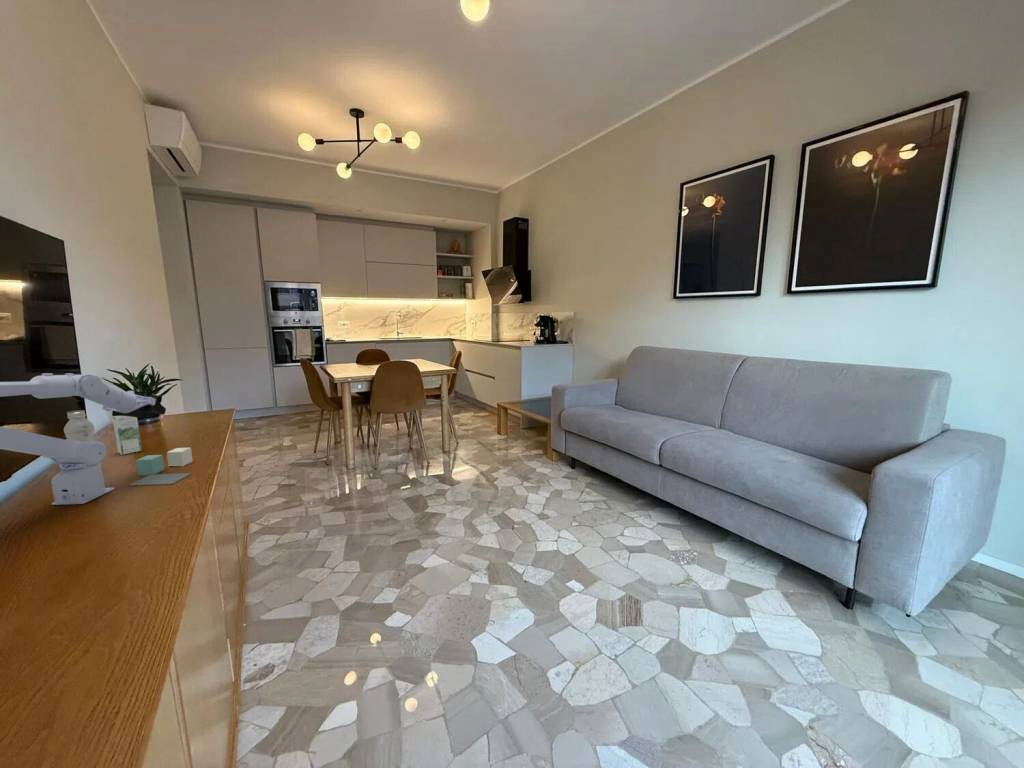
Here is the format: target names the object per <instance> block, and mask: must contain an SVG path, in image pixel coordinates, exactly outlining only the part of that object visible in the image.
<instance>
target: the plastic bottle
mask: <svg viewBox="0 0 1024 768" xmlns="http://www.w3.org/2000/svg"><path fill="white" fill-rule="evenodd" d="M66 414H67V419H68V421H67V423H66V424H65V426H64V427H63V432H64V436H65V438H66V440H74V441H95V425H94V423H93V422H91V421H90V420H89V419H88V418H86V417H87V415H86V412H85V410H83V409H82V410H81V409H79V410H72V411H67V412H66ZM101 463H102V462H101ZM101 463H100V464H101Z"/></svg>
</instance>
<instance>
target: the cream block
mask: <svg viewBox="0 0 1024 768" xmlns="http://www.w3.org/2000/svg"><path fill="white" fill-rule="evenodd" d="M166 458H167V463H168V467H169V466H180V467H185V466H187V465H189V464H191V463H193V461H194V460H193V454H192V447H175V448H174V449H171V450H169V451H167V452H166ZM190 462H191V463H190ZM188 463H189V464H188ZM186 464H187V465H186ZM184 465H185V466H184Z"/></svg>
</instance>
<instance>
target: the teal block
mask: <svg viewBox="0 0 1024 768" xmlns="http://www.w3.org/2000/svg"><path fill="white" fill-rule="evenodd" d="M163 457H164V456H163V454H154V455H153V454H152V455H151V454H149V455H148V454H147V455H146V456H143V457H140V458H138V459H135V463H136V469H137V475H138V476H149V475H151V474H156V473H157V474H159V473H160V471H161V472H163V471H165V470H164V469H165V464H164V462H165V461H164V458H163ZM162 470H163V471H162ZM158 472H159V473H158Z"/></svg>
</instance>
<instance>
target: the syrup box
mask: <svg viewBox="0 0 1024 768" xmlns="http://www.w3.org/2000/svg"><path fill="white" fill-rule="evenodd" d="M111 421H112V425H113V432H114V438H115V439H114V440H115V445H116V451H117V453H118V454H119V453H120V455H121V456H125V454H126V455H130V454H129V453H131V454H135V453H134V452H136V453H139V451H140V452H142V451H143V450H142V441H141V436H140V431H139V430H140V427H139V421H138V417H130V416H112V415H111Z"/></svg>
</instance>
